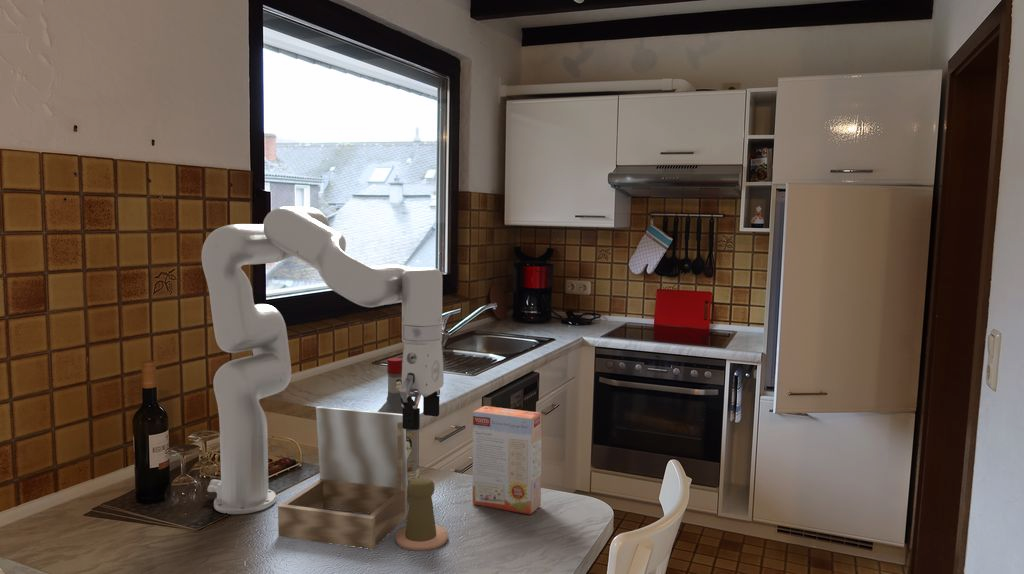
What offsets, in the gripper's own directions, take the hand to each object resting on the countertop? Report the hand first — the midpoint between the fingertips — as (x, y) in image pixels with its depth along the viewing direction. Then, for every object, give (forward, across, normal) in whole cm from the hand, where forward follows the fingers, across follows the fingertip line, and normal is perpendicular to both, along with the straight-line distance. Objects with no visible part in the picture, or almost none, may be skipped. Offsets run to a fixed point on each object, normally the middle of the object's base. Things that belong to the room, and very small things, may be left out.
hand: (421, 422), depth 139 cm
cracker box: (+23, +21, -11) cm, 33 cm away
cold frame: (+23, +1, +17) cm, 29 cm away
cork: (+22, 0, 0) cm, 22 cm away
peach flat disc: (+23, 0, 0) cm, 23 cm away
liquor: (+23, +23, +16) cm, 36 cm away
